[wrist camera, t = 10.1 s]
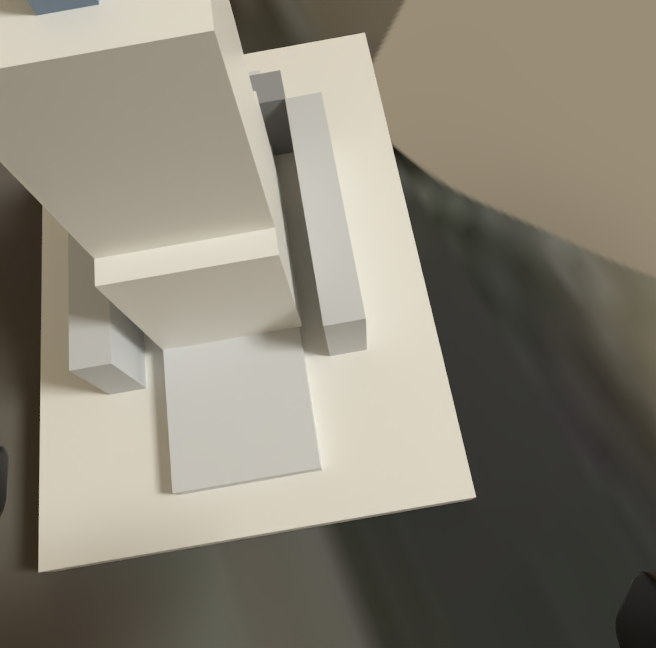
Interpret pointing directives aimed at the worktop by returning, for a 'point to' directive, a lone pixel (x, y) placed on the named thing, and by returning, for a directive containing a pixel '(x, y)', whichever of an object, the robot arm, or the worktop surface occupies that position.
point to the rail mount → (257, 360)
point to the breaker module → (151, 160)
